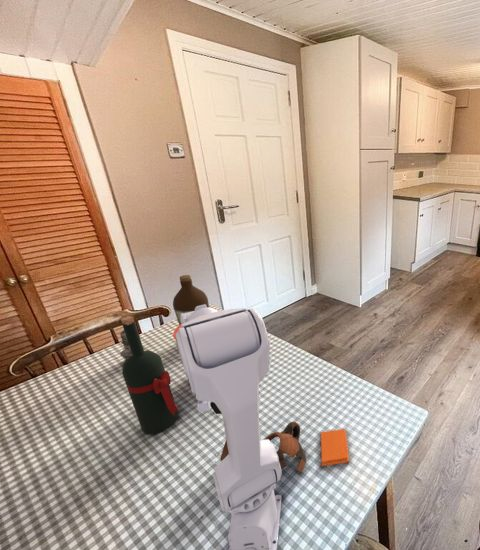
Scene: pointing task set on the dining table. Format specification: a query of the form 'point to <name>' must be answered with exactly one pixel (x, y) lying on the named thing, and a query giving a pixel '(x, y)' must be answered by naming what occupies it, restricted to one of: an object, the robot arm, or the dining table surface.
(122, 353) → the salt shaker
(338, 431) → the orange flat block
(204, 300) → the olive oil
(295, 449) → the brown toy figure
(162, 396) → the wine bottle
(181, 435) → the dining table surface
